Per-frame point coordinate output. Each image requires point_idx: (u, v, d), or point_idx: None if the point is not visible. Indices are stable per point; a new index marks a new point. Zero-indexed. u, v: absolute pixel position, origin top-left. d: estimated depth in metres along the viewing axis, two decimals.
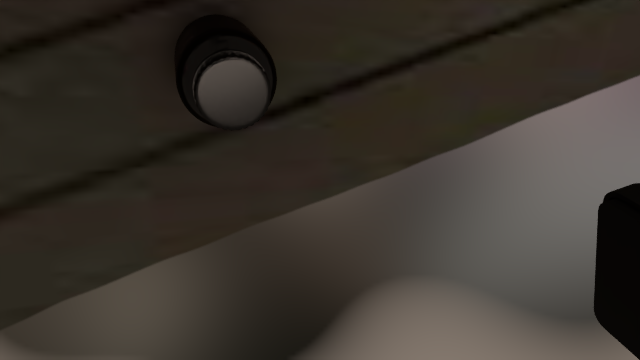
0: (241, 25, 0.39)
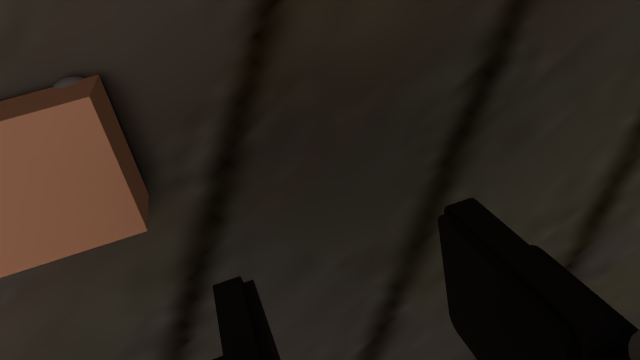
0: None
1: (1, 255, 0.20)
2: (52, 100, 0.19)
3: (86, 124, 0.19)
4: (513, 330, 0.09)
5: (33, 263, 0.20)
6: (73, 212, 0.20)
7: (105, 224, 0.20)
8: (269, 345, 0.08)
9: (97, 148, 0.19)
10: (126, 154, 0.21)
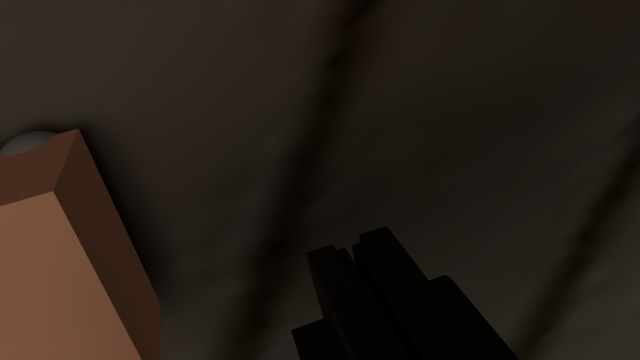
0: None
1: None
2: None
3: (49, 238, 0.10)
4: None
5: None
6: None
7: None
8: (377, 305, 0.08)
9: (70, 275, 0.11)
10: (125, 258, 0.13)
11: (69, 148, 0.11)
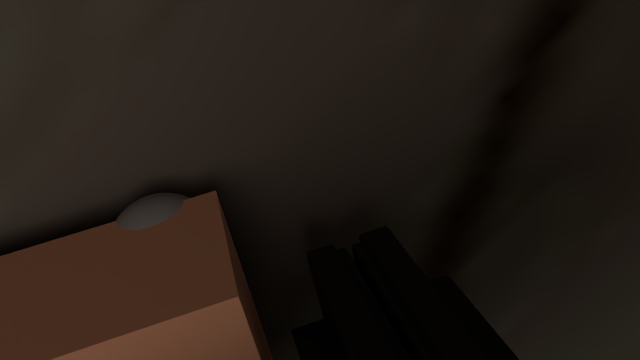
0: None
1: None
2: (134, 289, 0.07)
3: (223, 357, 0.07)
4: None
5: None
6: None
7: None
8: (378, 305, 0.08)
9: None
10: (267, 354, 0.10)
11: (221, 222, 0.09)
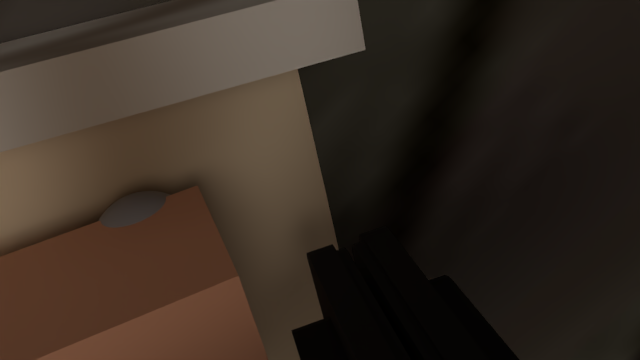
0: None
1: None
2: (131, 280, 0.08)
3: (225, 338, 0.08)
4: None
5: None
6: None
7: None
8: (377, 305, 0.08)
9: None
10: None
11: (208, 212, 0.09)
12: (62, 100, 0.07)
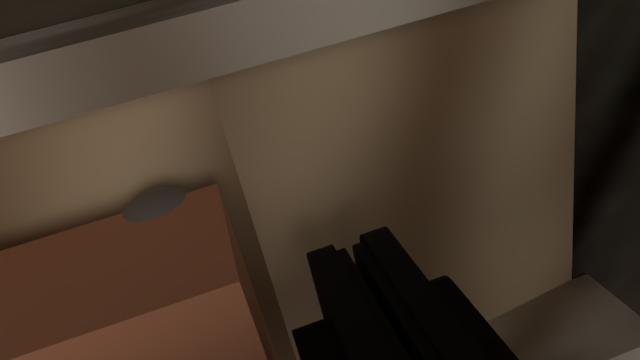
0: None
1: None
2: (139, 277, 0.08)
3: (225, 340, 0.08)
4: None
5: None
6: None
7: None
8: (377, 305, 0.08)
9: None
10: (268, 341, 0.11)
11: (222, 213, 0.09)
12: None
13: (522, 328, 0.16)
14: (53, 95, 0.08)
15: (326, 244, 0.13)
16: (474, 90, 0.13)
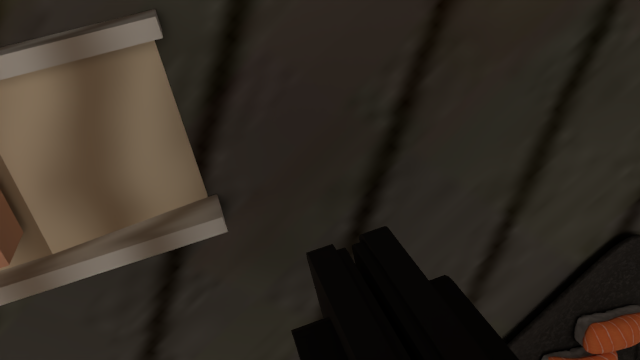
0: None
1: None
2: None
3: None
4: None
5: None
6: None
7: None
8: (377, 305, 0.08)
9: None
10: None
11: None
12: (66, 52, 0.24)
13: (167, 218, 0.31)
14: None
15: (42, 167, 0.28)
16: (111, 97, 0.28)
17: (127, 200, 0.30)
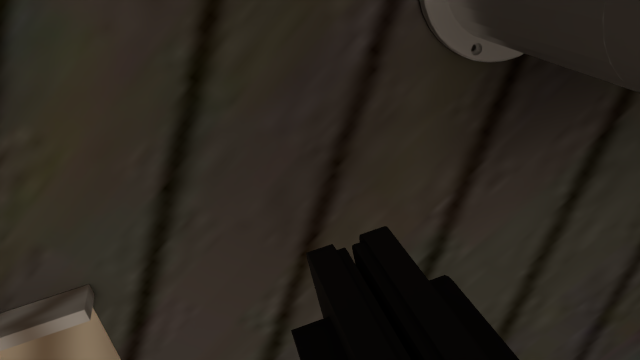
0: None
1: None
2: None
3: None
4: None
5: None
6: None
7: None
8: (377, 305, 0.08)
9: None
10: None
11: None
12: (23, 337, 0.36)
13: None
14: None
15: None
16: (60, 340, 0.40)
17: None
